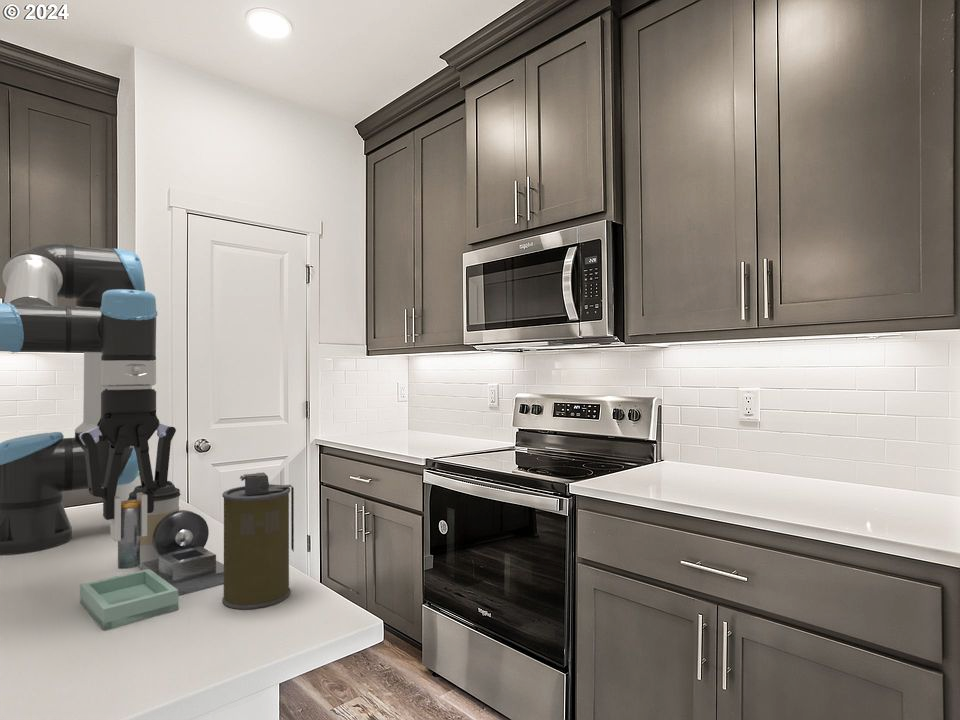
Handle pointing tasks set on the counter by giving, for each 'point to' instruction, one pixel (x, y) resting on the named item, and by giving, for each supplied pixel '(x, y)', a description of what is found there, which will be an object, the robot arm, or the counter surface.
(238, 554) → the canister
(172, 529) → the tensioner
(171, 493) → the coffee cup
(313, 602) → the counter surface
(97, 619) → the tray
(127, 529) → the lock pin
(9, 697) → the counter surface
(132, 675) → the counter surface
